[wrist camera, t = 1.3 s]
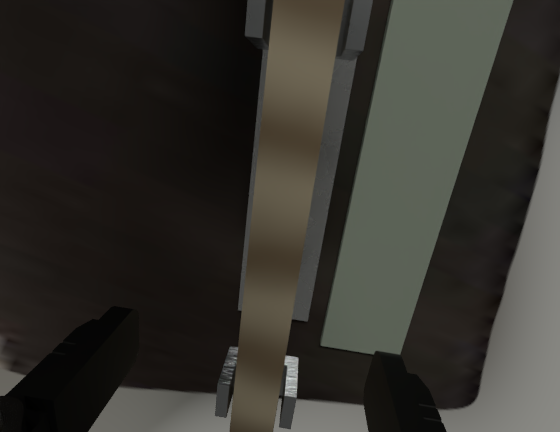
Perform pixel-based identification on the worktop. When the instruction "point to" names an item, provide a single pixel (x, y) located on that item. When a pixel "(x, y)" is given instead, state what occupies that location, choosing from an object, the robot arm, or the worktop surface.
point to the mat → (409, 164)
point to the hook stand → (341, 83)
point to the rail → (282, 198)
